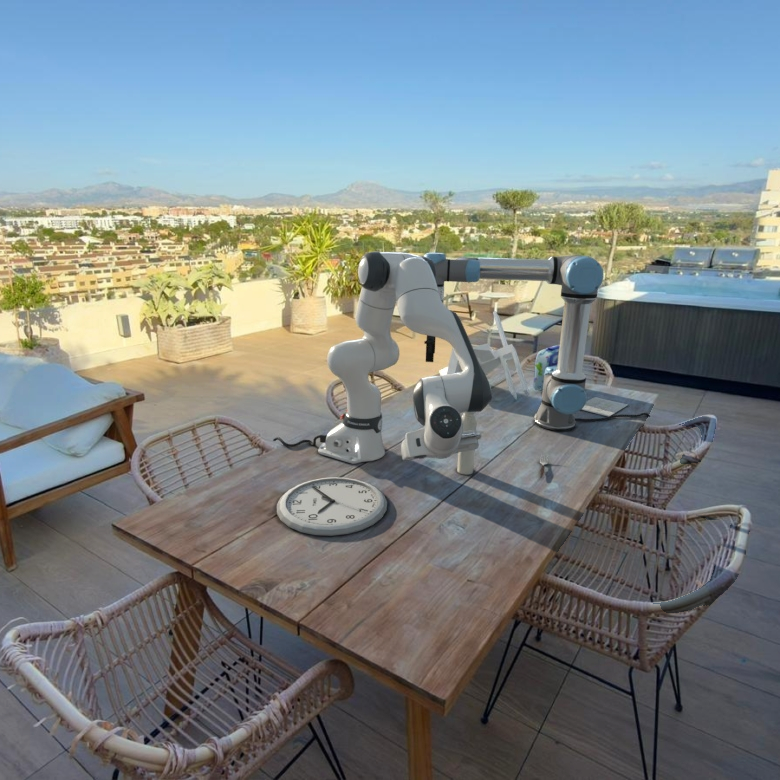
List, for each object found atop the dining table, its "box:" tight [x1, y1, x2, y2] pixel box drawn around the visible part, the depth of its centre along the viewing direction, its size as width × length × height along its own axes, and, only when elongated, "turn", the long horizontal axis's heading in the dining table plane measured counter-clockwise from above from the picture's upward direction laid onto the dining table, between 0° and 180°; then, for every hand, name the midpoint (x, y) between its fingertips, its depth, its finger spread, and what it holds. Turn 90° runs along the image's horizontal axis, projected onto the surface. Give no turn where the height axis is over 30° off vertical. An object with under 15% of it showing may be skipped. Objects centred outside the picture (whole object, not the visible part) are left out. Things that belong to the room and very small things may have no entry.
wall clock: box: [276, 476, 388, 537], centre depth 142 cm, size 30×2×30 cm
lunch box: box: [533, 344, 560, 392], centre depth 247 cm, size 26×11×21 cm, turn 134°
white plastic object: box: [438, 310, 531, 400], centre depth 245 cm, size 37×45×31 cm
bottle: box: [456, 412, 478, 476], centre depth 161 cm, size 5×5×22 cm
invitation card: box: [580, 396, 629, 417], centre depth 226 cm, size 21×1×15 cm
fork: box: [539, 453, 550, 478], centre depth 166 cm, size 3×16×2 cm, turn 160°
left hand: (438, 453), depth 143 cm, fingers open, 8 cm apart
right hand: (430, 357), depth 190 cm, fingers open, 13 cm apart
